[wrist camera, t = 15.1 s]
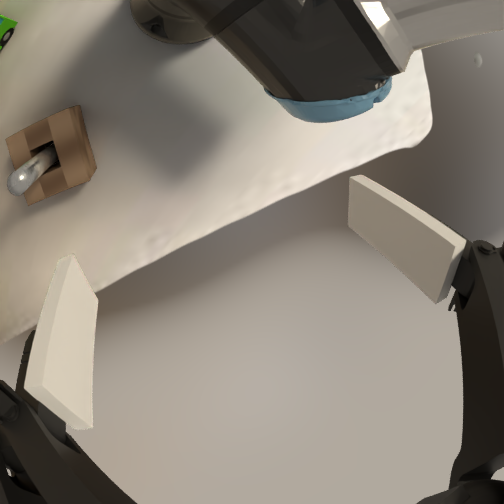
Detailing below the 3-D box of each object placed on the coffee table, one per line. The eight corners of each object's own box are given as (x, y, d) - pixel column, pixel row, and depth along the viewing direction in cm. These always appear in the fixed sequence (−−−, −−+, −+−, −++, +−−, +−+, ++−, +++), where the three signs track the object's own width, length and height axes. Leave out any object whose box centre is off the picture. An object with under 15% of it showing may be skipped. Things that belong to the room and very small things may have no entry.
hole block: (22, 131, 29) (5, 139, 24) (79, 104, 31) (68, 107, 26) (41, 190, 35) (28, 205, 30) (96, 168, 37) (89, 180, 32)
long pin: (49, 144, 32) (4, 177, 19) (63, 138, 32) (21, 168, 20) (54, 159, 33) (12, 199, 21) (67, 153, 34) (29, 190, 21)
